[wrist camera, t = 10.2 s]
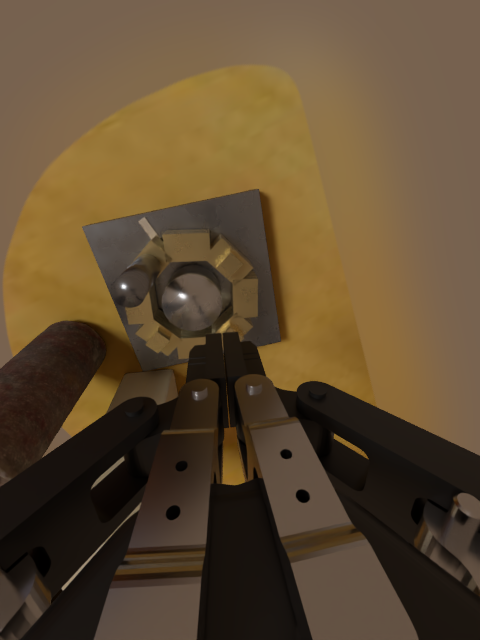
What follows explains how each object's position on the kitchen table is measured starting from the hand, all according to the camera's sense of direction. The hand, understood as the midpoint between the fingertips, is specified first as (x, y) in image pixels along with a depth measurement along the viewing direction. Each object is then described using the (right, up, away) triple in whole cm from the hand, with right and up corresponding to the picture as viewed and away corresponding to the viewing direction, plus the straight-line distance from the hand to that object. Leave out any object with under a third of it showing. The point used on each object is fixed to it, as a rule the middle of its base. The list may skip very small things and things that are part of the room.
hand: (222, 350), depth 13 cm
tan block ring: (-4, +5, +19) cm, 20 cm away
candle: (-19, -1, +22) cm, 30 cm away
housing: (-5, +5, +21) cm, 22 cm away
